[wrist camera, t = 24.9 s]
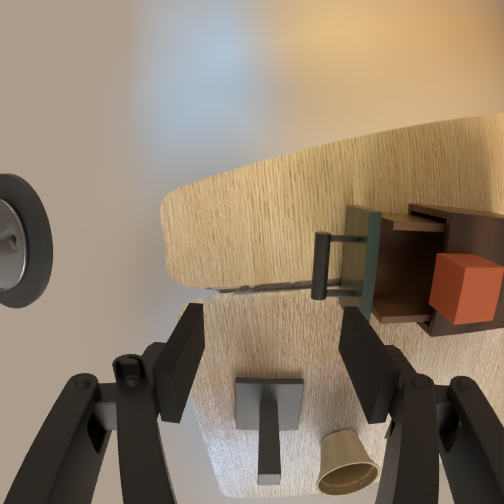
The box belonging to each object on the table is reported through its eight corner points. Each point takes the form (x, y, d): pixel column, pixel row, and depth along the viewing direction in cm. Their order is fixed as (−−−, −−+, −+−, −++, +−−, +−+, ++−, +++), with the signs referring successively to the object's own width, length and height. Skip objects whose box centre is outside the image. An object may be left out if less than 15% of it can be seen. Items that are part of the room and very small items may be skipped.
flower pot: (358, 457, 43) (368, 493, 35) (305, 459, 43) (310, 498, 35) (374, 420, 41) (389, 458, 32) (316, 423, 41) (324, 464, 33)
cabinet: (396, 303, 36) (430, 337, 27) (408, 203, 34) (451, 212, 24) (479, 299, 36) (518, 325, 27) (492, 212, 33) (538, 223, 24)
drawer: (303, 302, 36) (312, 333, 28) (308, 202, 33) (322, 209, 26) (434, 300, 35) (465, 324, 28) (446, 212, 33) (484, 221, 25)
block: (428, 303, 26) (453, 325, 21) (436, 252, 25) (465, 267, 20) (465, 301, 26) (492, 320, 21) (474, 254, 25) (505, 267, 20)
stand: (236, 423, 41) (228, 497, 28) (235, 377, 39) (225, 454, 26) (297, 424, 41) (305, 498, 28) (303, 378, 39) (316, 455, 26)
